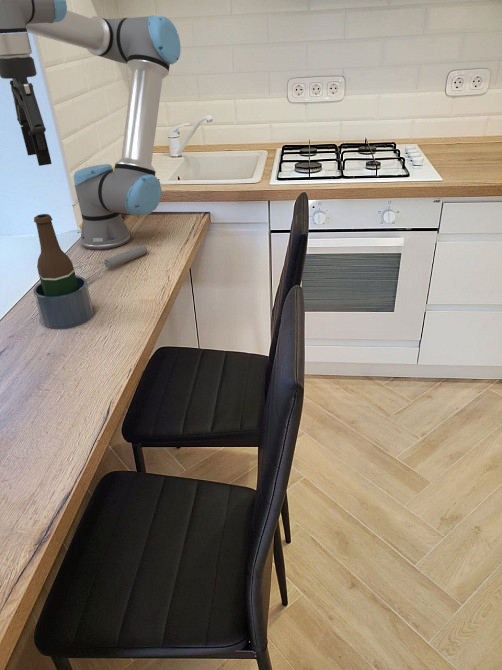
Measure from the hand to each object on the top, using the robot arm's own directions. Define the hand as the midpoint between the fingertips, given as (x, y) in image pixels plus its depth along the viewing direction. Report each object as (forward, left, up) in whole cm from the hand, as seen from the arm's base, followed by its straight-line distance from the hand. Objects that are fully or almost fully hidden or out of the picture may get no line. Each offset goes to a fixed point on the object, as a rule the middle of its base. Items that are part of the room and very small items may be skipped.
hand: (39, 159), depth 123 cm
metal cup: (+16, +8, -33) cm, 37 cm away
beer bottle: (+16, +8, -32) cm, 37 cm away
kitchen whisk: (-10, +6, -33) cm, 35 cm away
